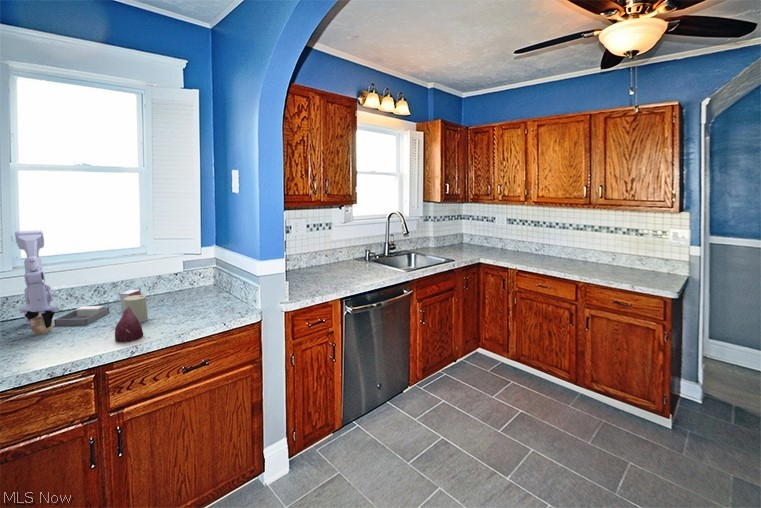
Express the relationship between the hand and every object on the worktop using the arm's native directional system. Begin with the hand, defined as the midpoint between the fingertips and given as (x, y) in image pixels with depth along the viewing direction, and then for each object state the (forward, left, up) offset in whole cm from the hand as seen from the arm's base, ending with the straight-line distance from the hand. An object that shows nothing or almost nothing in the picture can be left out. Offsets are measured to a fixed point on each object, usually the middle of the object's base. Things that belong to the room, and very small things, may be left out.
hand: (42, 327), depth 178 cm
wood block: (0, 0, -2) cm, 2 cm away
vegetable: (+42, -10, -2) cm, 43 cm away
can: (+34, +13, -2) cm, 36 cm away
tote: (+8, +15, -2) cm, 17 cm away
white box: (+8, +20, -2) cm, 22 cm away
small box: (+24, +28, -2) cm, 37 cm away
